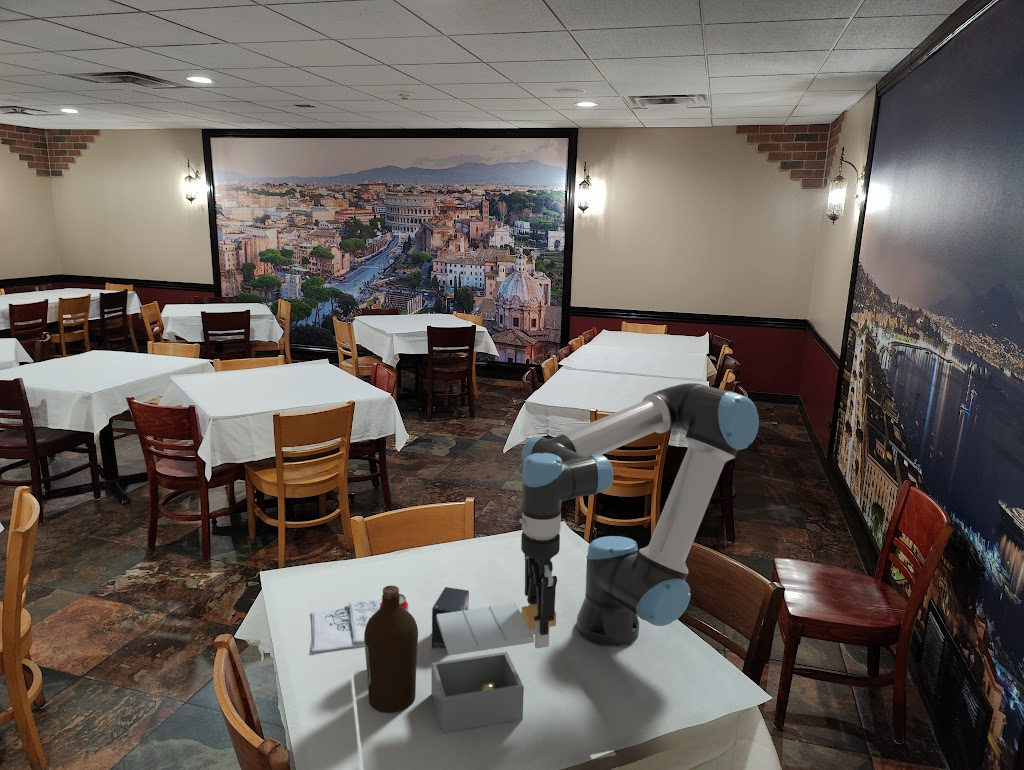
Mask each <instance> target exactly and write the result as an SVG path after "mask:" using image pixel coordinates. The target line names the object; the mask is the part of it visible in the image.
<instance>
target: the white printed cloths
mask: <svg viewBox="0 0 1024 770" xmlns="http://www.w3.org/2000/svg"><path fill="white" fill-rule="evenodd" d="M381 602H382V598H380V599H374V600H362V601H353V602H352V601H351V602H348V605H346V606H344V608H337V609H329V610H328V609H327V610H324V611H323V610H317V611H312V612H311V613H310V618H311V628H312V629H311V630H312V631H311V633H312V634H311V636H312V637H311V638H312V643H311V647H310V651H309V652H310V653H311V652H312V655H314V654H320V653H327V652H332V651H333V652H334V651H340V650H348V649H356V648H365V642H364V633H365V629H366V625H367V623H368V621H369V619H370V618H371V617H372V616H373V615H374V614H375V613H376V612H377V611H378V610H379V609H380V604H381ZM349 623H350V625H351V630H350V629H348V628H347V627H346V626H347V625H348V624H349Z"/></svg>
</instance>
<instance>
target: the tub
mask: <svg viewBox="0 0 1024 770" xmlns="http://www.w3.org/2000/svg"><path fill="white" fill-rule="evenodd" d="M486 680H490V681H493V682H495V684H496V689H491V690H485V691H481V683H482V682H483V681H486ZM524 691H525V689H524V684H523V683H522V680H521V678H520V676H519V674H518V672H517V670H516V668H515V666H514V663H513V661H512V659H511V657H510V654H509V653H508V651H504V652H496V653H491V654H483V655H477V656H476V655H475V656H471V657H469V656H468V657H464V658H463V657H462V658H454V659H449V660H441V661H436V662H431V698H432V701H433V704H434V705H433V706H434V709H435V712H436V715H437V719H438V723H439V727H440V731H441V734H449V733H455V732H460V731H467V730H471V729H477V728H482V727H488V726H496V725H499V724H506V723H511V722H512V723H513V722H516V721H517V722H518V721H523V718H524V694H525V692H524Z"/></svg>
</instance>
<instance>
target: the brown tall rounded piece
mask: <svg viewBox="0 0 1024 770" xmlns="http://www.w3.org/2000/svg"><path fill="white" fill-rule="evenodd" d="M399 594H400V589H399V587H398V586H397V585H387V586H384V587H383V588H382V595H381V599H382V604H383V606H382V607H381V608H380V609H379V610H378V611H377V612H376V613H375V614H374V615H373V616H372V617H371V618H370V619H369V621H368V623H367V625H366V629H365V633H364V642H365V647H364V654H365V664H366V666H365V667H366V677H367V678H366V679H367V680H366V681H367V694H368V704H369V706H370V707H371V708H372V709H373V710H375V711H377V712H379V713H385V714H394V713H400V712H402V711H404V710H406V709H408V708H409V707H411V706H412V705H413V704H414V702H415V700H416V690H417V688H416V686H417V685H416V684H417V665H418V664H417V661H418V660H417V659H418V644H419V643H418V641H419V640H418V639H419V629H418V624H417V622H416V620H415V617H414V616H413V615H412V614H411V613H410V612H409V610H408V611H406V610H405V609H404V608H403V607H401V606H400V605H399V600H400V595H399Z"/></svg>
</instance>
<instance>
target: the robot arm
mask: <svg viewBox="0 0 1024 770" xmlns="http://www.w3.org/2000/svg"><path fill="white" fill-rule="evenodd" d="M759 420H760V419H759V414H758V409H757V407H756V404H755V403H754V402H753V401H752V400H751V399H750V398H749V397H747V396H744V395H742V394H739V393H737V392H734V391H730V390H727V389H726V390H725V389H721V388H717V387H713V386H709V385H705V384H702V383H693V382H691V383H681V384H677V385H674V386H669V387H665V388H663V389H660V390H657V391H654V392H651V393H649V394H647V395H645V396H644V397H643V398H642V401H641V402H639V403H636V404H634V405H633V404H632V405H631V406H629V407H628V406H627V407H626V408H623V409H622V410H618V411H616V412H614V413H611V414H609V415H606V416H604V417H602V418H599V419H597V420H595V421H594V420H593V421H591V422H589V423H586V424H584V425H582V426H579V427H576V428H574V429H572V430H569V431H567V432H564V433H561V434H559V435H556V436H554V437H551V438H546V437H542V436H534V437H531V438H530V439H528V440H527V441H526V442H525V443H524V445H523V447H522V450H521V460H522V463H523V465H522V476H521V484H522V485H521V495H522V496H521V498H522V499H521V517H522V518H519V523H520V524H521V531H522V532H521V545H520V546H521V547H520V549H521V552H522V553H523V555H524V595H525V597H527V598H526V601H527V603H528V605H527V606H532V605H537V616H536V617H534V620H535V629H532V630H531V632H532V634H533V636H534V647H535V649H541V648H542V649H544V648H548V647H550V627H549V624H550V621H554V613H555V612H556V611H555V609H556V589H557V588H556V587H557V583H558V576H557V575H553V574H552V572H553V571H554V570H553V569H554V568H553V566H554V565H553V562H552V558H553V557H555V556H557V555H558V554H559V552H560V546H561V545H560V544H561V543H560V541H561V535H560V533H561V528H562V526H561V522H562V521H561V517H562V513H561V512H562V511H561V509H562V502H565V501H569V500H572V499H577V498H581V497H586V496H587V497H588V496H591V495H597V494H598V493H602V492H605V491H607V490H609V489H610V488H611V487H612V485H613V483H614V469H613V465H612V463H611V461H610V460H609V459H608V458H607V457H606V456H605V455H604V454H606V453H608V452H611V451H613V450H615V449H618V448H620V447H623V446H625V445H627V444H629V443H632V442H634V441H636V440H638V439H641V438H643V437H646V436H648V435H651V434H653V433H657V434H663V433H667V432H669V431H674V430H675V431H676V430H677V431H684V432H686V434H685V437H684V441H685V443H686V445H687V450H686V453H684V458H683V459H682V462H681V463H680V467H679V470H678V472H677V474H676V477H675V479H674V482H673V484H672V486H671V489H670V491H669V493H668V497H667V499H666V502H665V504H664V507H663V508H662V512H661V514H660V517H659V519H658V522H657V524H656V526H655V528H654V531H653V533H652V536H651V539H650V542H649V544H648V545H647V546H645V547H642V548H640V549H639V547H638V543H637V541H636V540H634V539H632V538H629V537H625V536H618V535H617V536H616V535H615V536H614V535H610V536H609V535H607V536H601V537H598V538H596V539H595V538H594V539H593V540H592V541H591V542H589V545H588V548H587V555H586V568H585V569H586V571H585V572H586V573H585V574H586V575H585V597H584V599H583V602H582V604H581V607H580V608H579V612H578V614H577V615H576V616H577V617H576V629H577V632H578V634H580V635H581V637H583V638H584V639H585V640H587V641H589V642H591V643H594V644H596V645H601V646H606V647H620V646H621V647H622V646H625V645H627V644H631V643H632V642H634V641H635V640H636V639H637V638H638V636H639V635H638V634H640V620H639V618H640V619H641V620H643V621H646V622H647V623H649V624H651V626H652V625H653V626H656V627H664V626H668V625H670V624H672V623H673V622H674V621H675V622H676V621H677V620H678V619H679V618H680V617H682V615H683V614H684V612H686V609H687V608H688V605H689V603H690V601H691V597H692V596H691V594H692V593H690V592H691V588H690V586H689V584H688V582H686V580H687V577H688V575H689V569H688V567H687V564H686V561H687V558H688V555H689V553H690V551H691V549H692V548H691V547H692V546H693V542H694V541H695V538H696V536H697V533H698V531H699V529H700V525H701V524H702V521H703V518H704V516H705V513H706V510H707V508H708V506H709V503H710V500H711V498H712V495H713V493H714V491H715V488H716V485H717V484H718V482H719V478H720V475H721V473H722V471H723V468H724V466H725V464H726V463H727V462H729V461H730V460H733V459H735V458H736V455H737V453H738V451H740V450H744V449H747V448H748V447H749V445H752V443H753V442H754V440H755V439H756V437H757V435H758V431H759V423H760V421H759Z"/></svg>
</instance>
